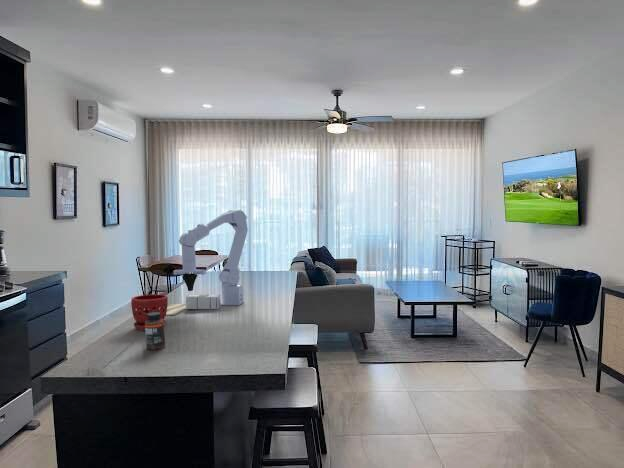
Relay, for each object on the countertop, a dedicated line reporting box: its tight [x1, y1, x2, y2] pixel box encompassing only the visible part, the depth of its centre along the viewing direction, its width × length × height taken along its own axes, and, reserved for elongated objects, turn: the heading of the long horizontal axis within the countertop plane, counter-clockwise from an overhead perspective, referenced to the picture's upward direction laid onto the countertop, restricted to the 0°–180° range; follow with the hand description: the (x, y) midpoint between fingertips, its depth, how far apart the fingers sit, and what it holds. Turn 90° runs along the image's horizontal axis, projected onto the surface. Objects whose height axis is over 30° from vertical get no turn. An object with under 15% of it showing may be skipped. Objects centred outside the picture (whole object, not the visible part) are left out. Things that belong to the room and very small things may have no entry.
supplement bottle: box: [144, 312, 166, 351], centre depth 149 cm, size 6×6×11 cm
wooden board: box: [165, 303, 188, 317], centre depth 204 cm, size 12×20×1 cm, turn 169°
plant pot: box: [130, 294, 169, 331], centre depth 175 cm, size 13×13×12 cm
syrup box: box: [185, 293, 221, 310], centre depth 205 cm, size 6×6×14 cm
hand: (190, 290), depth 202 cm, fingers closed
